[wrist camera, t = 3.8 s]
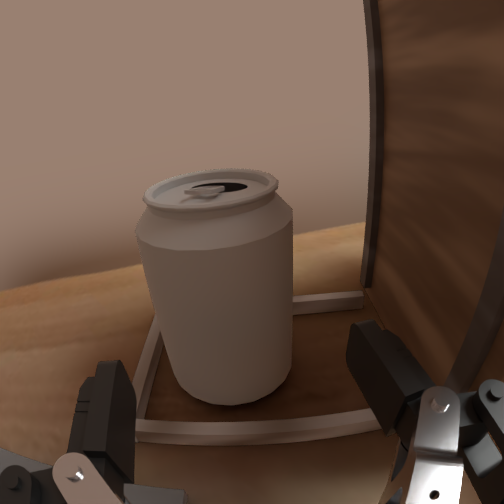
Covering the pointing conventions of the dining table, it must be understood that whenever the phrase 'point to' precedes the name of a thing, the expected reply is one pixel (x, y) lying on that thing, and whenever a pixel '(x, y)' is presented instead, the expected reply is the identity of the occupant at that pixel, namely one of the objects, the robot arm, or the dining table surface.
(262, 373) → the can
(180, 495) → the slate board
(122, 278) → the dining table surface
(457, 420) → the robot arm
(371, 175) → the wooden stand
